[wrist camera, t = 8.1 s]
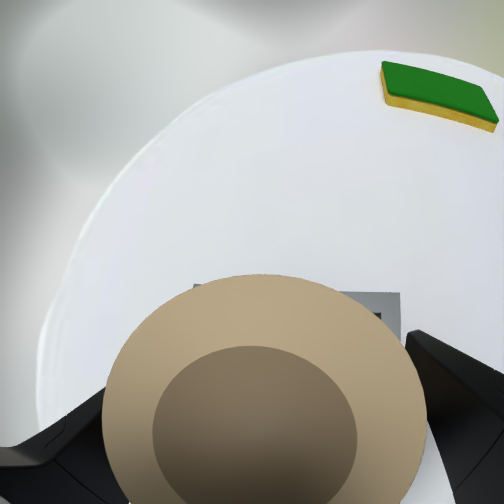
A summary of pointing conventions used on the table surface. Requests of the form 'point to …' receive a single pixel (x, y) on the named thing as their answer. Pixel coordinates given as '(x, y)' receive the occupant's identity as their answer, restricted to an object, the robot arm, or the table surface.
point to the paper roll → (263, 400)
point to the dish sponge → (437, 95)
